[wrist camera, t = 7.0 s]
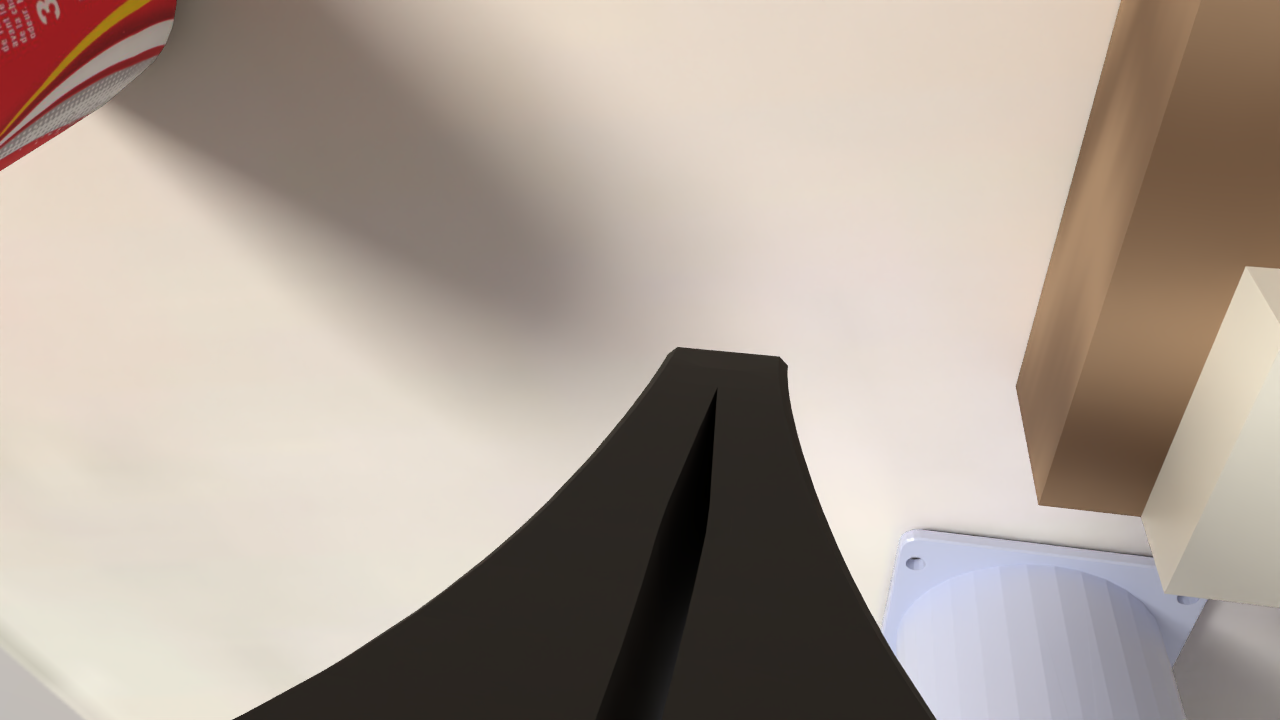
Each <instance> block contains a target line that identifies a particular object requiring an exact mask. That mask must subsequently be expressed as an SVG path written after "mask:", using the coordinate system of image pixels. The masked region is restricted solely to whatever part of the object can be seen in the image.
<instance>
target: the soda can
mask: <svg viewBox="0 0 1280 720" xmlns="http://www.w3.org/2000/svg"><path fill="white" fill-rule="evenodd" d="M176 4H177V0H0V171H1V170H3V169H4V168H6V167H7V166H9V165H11V164H12V163H14V162H15V161H17V160H19V159H20V158H22V157H23V156H25V155H27V154H28V153H30V152H31V151H33V150H34V149H36V148H38V147H39V146H41V145H42V144H44V143H46V142H47V141H49V140H50V139H52V138H54V137H55V136H57V135H58V134H60V133H61V132H63V131H65V130H66V129H68V128H69V127H71V126H72V125H74V124H75V123H77V122H78V121H80V120H82V119H83V118H85V117H86V116H88V115H89V114H91V113H92V112H94V111H95V110H97V109H99V108H100V107H102V106H103V105H104V104H106V103H107V102H108V101H109V100H110V99H111V98H113V97H114V96H115V95H116V94H117V93H118V92H120V91H121V90H122V89H123V88H124V87H125V86H127V85H128V84H129V83H130V82H131V81H132V80H134V79H135V78H136V77H137V76H138V75H139V74H141V73H142V72H143V71H144V70H145V69H146V68H147V67H148V66H149V65H150V64H151V63H152V62H154V61H155V60H156V58H157V57H158V55H159V54H160V52H161V51H162V49H163V47H164V46H165V44H166V42H167V40H168V37H169V34H170V32H171V29H172V26H173V22H174V16H175V10H176Z"/></svg>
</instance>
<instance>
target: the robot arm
mask: <svg viewBox="0 0 1280 720" xmlns="http://www.w3.org/2000/svg"><path fill="white" fill-rule="evenodd" d="M787 370H788V365H787V364H786V363H785V362H784V361H783V360H782V359H781V358H780V357H777V356H767V355H756V354H745V353H735V352H724V351H713V350H703V349H692V348H681V347H677V348H676V349H674V350H673V351H672V352H670V353H669V354H668V355H667V357H666V358H665V360H664V362H663V363H662V365H661V366H660V368H659V369H658V371H657V372H656V374H655V375H654V377H653V378H652V380H651V381H650V383H649V384H648V385H647V387H646V388H645V389H644V391H643V392H642V394H641V395H640V396H639V398H638V399H637V400H636V402H635V403H634V404H633V405H632V407H631V408H630V409H629V411H628V412H627V413H626V415H625V416H624V417H623V418H622V419H621V421H620V422H619V423H618V424H617V425H616V427H615V428H614V429H613V430H612V431H611V433H610V434H609V435H608V436H607V437H606V439H605V440H604V441H603V442H602V443H601V445H600V446H599V447H598V448H597V449H596V451H595V452H594V453H593V454H592V455H591V456H590V457H589V459H588V460H587V461H586V462H585V463H584V464H583V465H582V466H581V467H580V468H579V469H578V470H577V471H576V472H575V473H574V475H573V476H572V477H571V478H570V479H569V480H568V481H567V482H566V483H565V484H564V485H563V486H562V487H561V488H560V489H559V490H558V491H557V492H556V493H555V495H554V496H553V497H552V498H551V499H550V500H549V501H548V502H547V503H546V504H545V505H544V506H543V507H542V508H541V509H540V510H538V511H537V512H536V513H535V514H534V515H533V516H532V517H531V518H530V519H529V520H528V521H527V522H526V523H525V524H524V525H523V526H522V527H520V528H519V529H518V530H517V531H516V532H515V533H514V534H513V535H511V536H510V537H509V538H508V539H507V540H506V541H505V542H503V543H502V544H501V545H500V546H499V547H498V548H497V549H495V550H494V551H493V552H492V553H491V554H490V555H488V556H487V557H486V558H485V559H484V560H482V561H481V562H480V563H478V564H477V565H476V566H475V567H473V568H472V569H471V570H470V571H468V572H467V573H466V574H465V575H463V576H462V577H461V578H459V579H458V580H457V581H456V582H454V583H453V584H452V585H451V586H449V587H448V588H447V589H446V590H444V591H443V592H442V593H440V594H439V595H437V596H436V597H435V598H433V599H432V600H431V601H429V602H428V603H427V604H425V605H424V606H422V607H421V608H420V609H418V610H417V611H415V612H414V613H413V614H411V615H410V616H408V617H406V618H405V619H403V620H402V621H400V622H399V623H397V624H396V625H394V626H393V627H391V628H390V629H388V630H387V631H385V632H384V633H382V634H381V635H379V636H377V637H376V638H374V639H373V640H371V641H370V642H368V643H367V644H365V645H364V646H362V647H361V648H359V649H358V650H356V651H355V652H353V653H352V654H350V655H348V656H347V657H345V658H344V659H342V660H340V661H339V662H337V663H335V664H334V665H332V666H330V667H329V668H327V669H326V670H324V671H322V672H320V673H319V674H317V675H315V676H313V677H311V678H309V679H308V680H306V681H304V682H302V683H300V684H298V685H296V686H295V687H293V688H291V689H289V690H287V691H285V692H284V693H282V694H280V695H278V696H276V697H274V698H273V699H271V700H269V701H267V702H265V703H263V704H261V705H260V706H258V707H256V708H254V709H252V710H250V711H249V712H247V713H245V714H243V715H241V716H239V717H237V718H235V719H233V720H1186V716H1185V713H1184V709H1183V706H1182V702H1181V699H1180V695H1179V692H1178V688H1177V685H1176V681H1175V678H1174V675H1173V671H1172V667H1173V665H1174V664H1175V662H1176V660H1177V658H1178V656H1179V654H1180V652H1181V650H1182V648H1183V646H1184V644H1185V642H1186V640H1187V638H1188V636H1189V635H1190V633H1191V631H1192V629H1193V627H1194V625H1195V623H1196V621H1197V619H1198V617H1199V615H1200V613H1201V611H1202V609H1203V607H1204V606H1205V604H1206V602H1207V600H1208V599H1203V598H1195V597H1187V596H1179V595H1172V594H1164V591H1163V588H1162V584H1161V581H1160V578H1159V574H1158V571H1157V568H1156V565H1155V561H1154V558H1153V557H1144V556H1136V555H1128V554H1119V553H1111V552H1103V551H1095V550H1086V549H1078V548H1070V547H1061V546H1053V545H1045V544H1037V543H1028V542H1020V541H1012V540H1003V539H995V538H987V537H978V536H970V535H962V534H954V533H945V532H937V531H929V530H920V529H919V530H910V531H907V532H905V533H904V534H903V535H902V536H901V537H900V539H899V544H898V549H897V553H896V558H895V563H894V568H893V573H892V578H891V583H890V588H889V593H888V598H887V603H886V607H885V612H884V617H883V622H882V627H881V630H880V628H879V627H878V625H877V623H876V621H875V620H874V618H873V616H872V614H871V613H870V611H869V609H868V607H867V605H866V603H865V601H864V599H863V597H862V595H861V593H860V591H859V590H858V588H857V586H856V584H855V582H854V580H853V578H852V576H851V574H850V572H849V570H848V567H847V565H846V563H845V561H844V559H843V557H842V555H841V552H840V550H839V548H838V546H837V544H836V541H835V539H834V536H833V534H832V532H831V529H830V527H829V525H828V522H827V520H826V517H825V515H824V513H823V510H822V507H821V505H820V502H819V499H818V497H817V494H816V491H815V489H814V486H813V483H812V480H811V477H810V474H809V471H808V468H807V465H806V462H805V458H804V455H803V452H802V449H801V446H800V442H799V438H798V435H797V431H796V427H795V422H794V418H793V414H792V409H791V403H790V398H789V390H788V378H787ZM912 557H918V558H920V559H911V558H912Z"/></svg>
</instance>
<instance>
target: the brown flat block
mask: <svg viewBox="0 0 1280 720" xmlns="http://www.w3.org/2000/svg"><path fill="white" fill-rule="evenodd" d="M1246 266H1249V267H1263V268H1276V269H1280V0H1121V3H1120V7H1119V10H1118V14H1117V18H1116V21H1115V25H1114V29H1113V32H1112V36H1111V40H1110V43H1109V47H1108V51H1107V54H1106V58H1105V62H1104V65H1103V69H1102V73H1101V76H1100V80H1099V84H1098V87H1097V91H1096V95H1095V98H1094V102H1093V106H1092V109H1091V113H1090V117H1089V120H1088V124H1087V128H1086V131H1085V135H1084V139H1083V142H1082V146H1081V150H1080V153H1079V157H1078V161H1077V164H1076V168H1075V172H1074V175H1073V179H1072V183H1071V186H1070V190H1069V194H1068V197H1067V201H1066V205H1065V208H1064V212H1063V216H1062V219H1061V223H1060V227H1059V230H1058V234H1057V238H1056V241H1055V245H1054V249H1053V252H1052V256H1051V260H1050V263H1049V267H1048V271H1047V274H1046V278H1045V282H1044V285H1043V289H1042V293H1041V296H1040V300H1039V304H1038V307H1037V311H1036V315H1035V318H1034V322H1033V326H1032V329H1031V333H1030V337H1029V340H1028V344H1027V348H1026V351H1025V355H1024V359H1023V362H1022V366H1021V370H1020V373H1019V377H1018V381H1017V384H1016V390H1017V395H1018V400H1019V405H1020V411H1021V416H1022V421H1023V426H1024V432H1025V437H1026V442H1027V447H1028V453H1029V458H1030V463H1031V468H1032V474H1033V479H1034V484H1035V489H1036V494H1037V500H1038V505H1042V506H1050V507H1059V508H1068V509H1077V510H1085V511H1094V512H1103V513H1112V514H1120V515H1129V516H1138V517H1141V516H1142V513H1143V511H1144V508H1145V506H1146V504H1147V501H1148V499H1149V497H1150V494H1151V492H1152V489H1153V487H1154V485H1155V482H1156V480H1157V477H1158V475H1159V473H1160V470H1161V468H1162V465H1163V463H1164V461H1165V458H1166V456H1167V453H1168V451H1169V449H1170V446H1171V444H1172V442H1173V439H1174V437H1175V434H1176V432H1177V430H1178V427H1179V425H1180V422H1181V420H1182V418H1183V415H1184V413H1185V410H1186V408H1187V406H1188V403H1189V401H1190V398H1191V396H1192V394H1193V391H1194V389H1195V386H1196V384H1197V382H1198V379H1199V377H1200V375H1201V372H1202V370H1203V367H1204V365H1205V363H1206V360H1207V358H1208V355H1209V353H1210V351H1211V348H1212V346H1213V343H1214V341H1215V339H1216V336H1217V334H1218V331H1219V329H1220V327H1221V324H1222V322H1223V319H1224V317H1225V315H1226V312H1227V310H1228V308H1229V305H1230V303H1231V300H1232V298H1233V296H1234V293H1235V291H1236V288H1237V286H1238V284H1239V281H1240V279H1241V276H1242V274H1243V272H1244V269H1245V267H1246Z"/></svg>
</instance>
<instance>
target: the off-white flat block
mask: <svg viewBox="0 0 1280 720" xmlns="http://www.w3.org/2000/svg"><path fill="white" fill-rule="evenodd" d="M1141 518H1142V522H1143V525H1144V528H1145V532H1146V535H1147V538H1148V541H1149V545H1150V548H1151V551H1152V555H1153V558H1154V561H1155V565H1156V568H1157V571H1158V574H1159V578H1160V581H1161V584H1162V588H1163V591H1164V594H1172V595H1179V596H1187V597H1195V598H1203V599H1211V600H1219V601H1227V602H1235V603H1243V604H1251V605H1259V606H1267V607H1275V608H1280V269H1276V268H1263V267H1249V266H1246V267H1245V269H1244V272H1243V274H1242V276H1241V279H1240V281H1239V284H1238V286H1237V288H1236V291H1235V293H1234V296H1233V298H1232V300H1231V303H1230V305H1229V308H1228V310H1227V312H1226V315H1225V317H1224V319H1223V322H1222V324H1221V327H1220V329H1219V331H1218V334H1217V336H1216V339H1215V341H1214V343H1213V346H1212V348H1211V351H1210V353H1209V355H1208V358H1207V360H1206V363H1205V365H1204V367H1203V370H1202V372H1201V375H1200V377H1199V379H1198V382H1197V384H1196V386H1195V389H1194V391H1193V394H1192V396H1191V398H1190V401H1189V403H1188V406H1187V408H1186V410H1185V413H1184V415H1183V418H1182V420H1181V422H1180V425H1179V427H1178V430H1177V432H1176V434H1175V437H1174V439H1173V442H1172V444H1171V446H1170V449H1169V451H1168V453H1167V456H1166V458H1165V461H1164V463H1163V465H1162V468H1161V470H1160V473H1159V475H1158V477H1157V480H1156V482H1155V485H1154V487H1153V489H1152V492H1151V494H1150V497H1149V499H1148V501H1147V504H1146V506H1145V508H1144V511H1143V513H1142V516H1141Z"/></svg>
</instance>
